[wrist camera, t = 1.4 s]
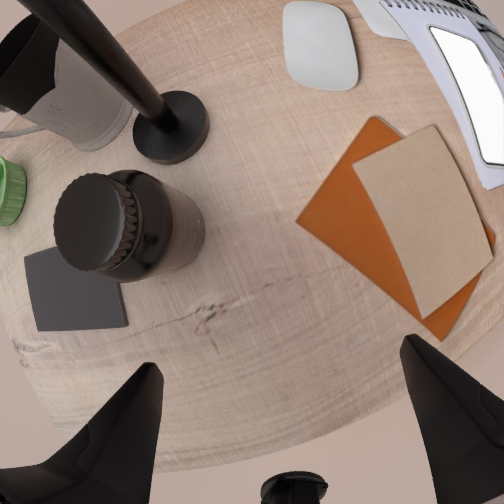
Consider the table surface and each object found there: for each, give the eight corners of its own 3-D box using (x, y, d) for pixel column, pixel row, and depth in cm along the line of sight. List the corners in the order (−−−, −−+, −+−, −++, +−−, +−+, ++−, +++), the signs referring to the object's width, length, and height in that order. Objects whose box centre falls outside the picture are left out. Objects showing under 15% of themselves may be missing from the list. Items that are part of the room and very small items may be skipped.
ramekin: (6, 160, 25) (-15, 154, 20) (37, 164, 24) (13, 156, 20) (-8, 222, 25) (-30, 220, 21) (21, 236, 25) (-4, 235, 20)
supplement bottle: (141, 276, 23) (49, 299, 11) (130, 202, 23) (37, 176, 11) (214, 263, 23) (155, 282, 11) (200, 184, 23) (136, 131, 11)
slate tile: (128, 325, 24) (125, 327, 23) (41, 330, 25) (37, 331, 24) (110, 231, 24) (107, 231, 23) (26, 256, 25) (23, 257, 24)
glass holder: (139, 127, 23) (40, 46, 8) (42, 186, 24) (-59, 164, 9) (129, 68, 23) (57, -11, 8) (39, 127, 24) (-42, 90, 9)
